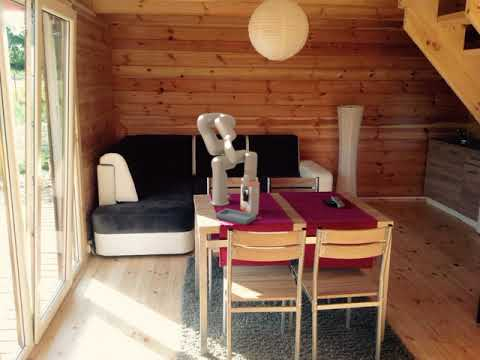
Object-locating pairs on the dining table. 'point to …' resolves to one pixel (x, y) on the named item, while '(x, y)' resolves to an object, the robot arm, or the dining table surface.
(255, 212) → the cracker box
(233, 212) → the tray
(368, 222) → the dining table surface
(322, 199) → the dining table surface
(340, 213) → the dining table surface
